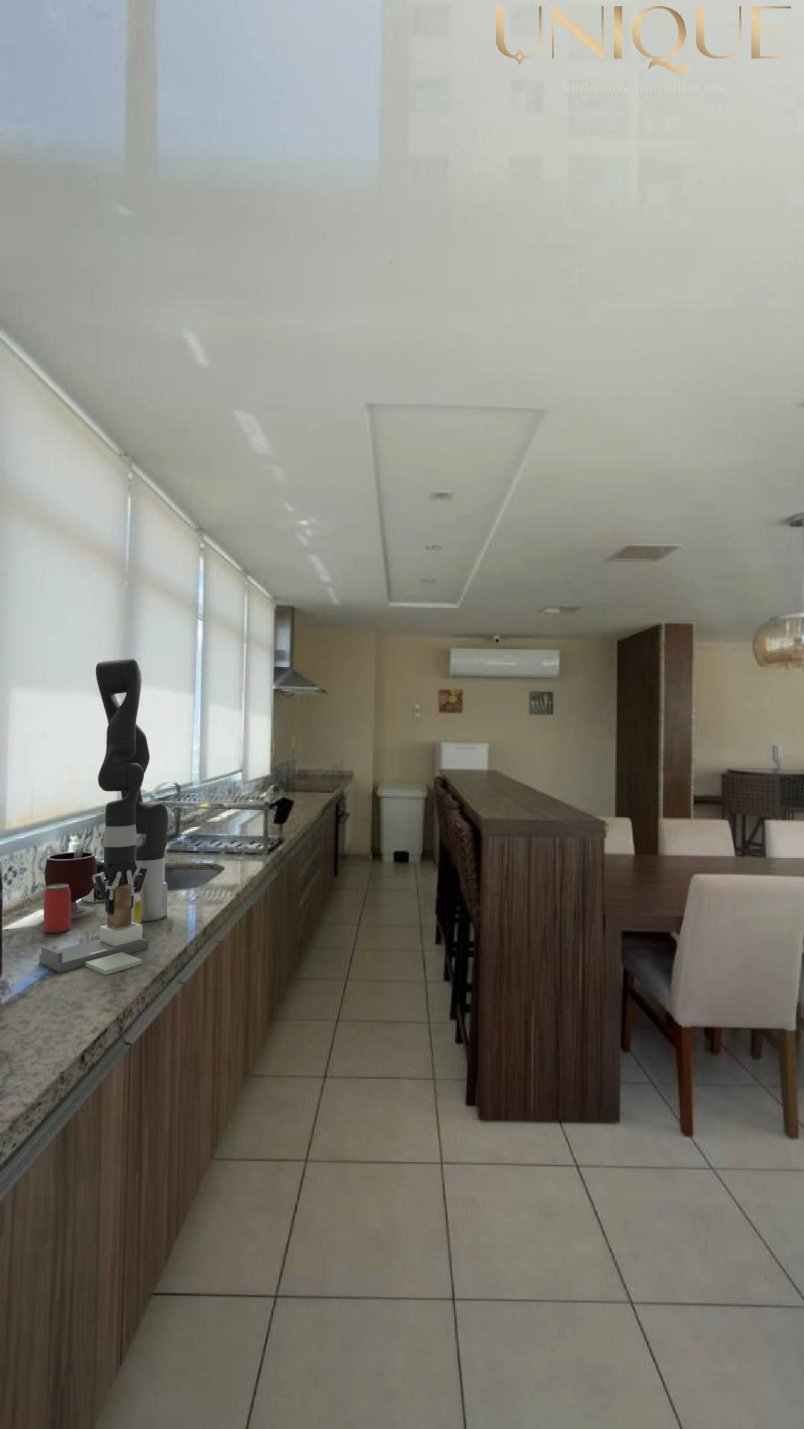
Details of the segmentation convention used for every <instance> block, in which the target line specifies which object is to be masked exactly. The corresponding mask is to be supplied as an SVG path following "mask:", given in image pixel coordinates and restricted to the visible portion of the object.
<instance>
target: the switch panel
mask: <svg viewBox="0 0 804 1429" xmlns="http://www.w3.org/2000/svg"><path fill="white" fill-rule="evenodd" d="M149 942H150V940H149V939H148V938H144V937H142V939H141V940H138V941H134V942H130V943H126V944H122V945H119V946H113V945H110V944H107V943H104V942H102V941H100V938H99V939H95V940H91V941H88V942H84V943H79V944H75V945H72V946H68V947H63V948H60V949H59V948H58V949H55V948H52V947H50V946H48V945H43V946H41V948H40V949H41V951H40V952H41V953H39V956H38V959H39V960H38V962H39V964H41V965H43V966H45V967H46V968H49V969H50V970H53V971H55V972H58V973H63V972H66V971H70V970H73V969H78V968H81V967H85V962H87V961H90V960H94V959H98V958H101V957H105V956H109V955H112V954H116V953H120V952H123V953H126V954H128V955H129V954H131V953H132V954H133V953H135V952H138V951H142V950H146V949H149V948H150V947H149V946H150V945H149Z"/></svg>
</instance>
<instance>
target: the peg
mask: <svg viewBox="0 0 804 1429" xmlns="http://www.w3.org/2000/svg"><path fill="white" fill-rule="evenodd" d="M111 886H112V885H111ZM131 893H132V885H131V884H130V885H128V884H120V885H118V887H116V890H115V895H114V898H113V899H114V914H113V915H109V914H107V922H106V923H107V924H106V925H107V926H110V927H113V928H120V927H124V926H129V925H131Z"/></svg>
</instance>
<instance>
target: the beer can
mask: <svg viewBox="0 0 804 1429" xmlns="http://www.w3.org/2000/svg"><path fill="white" fill-rule="evenodd" d="M71 921H72V919H71V891H70V888H69V885H68V884H53V885H49V886H47V887H46V886H45V891H44V893H43V931H44V932H45V933H48V934H59V933H64V932H66V931H68V930H70V929H71V927H72V926H71V924H72V923H71Z"/></svg>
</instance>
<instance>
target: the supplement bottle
mask: <svg viewBox="0 0 804 1429" xmlns="http://www.w3.org/2000/svg"><path fill="white" fill-rule="evenodd" d="M131 922H134V923H137V924H140V925H142V921H141V897H140V895H139V894H137V893H135V894H134V896H133V908H132V910H131Z"/></svg>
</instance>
